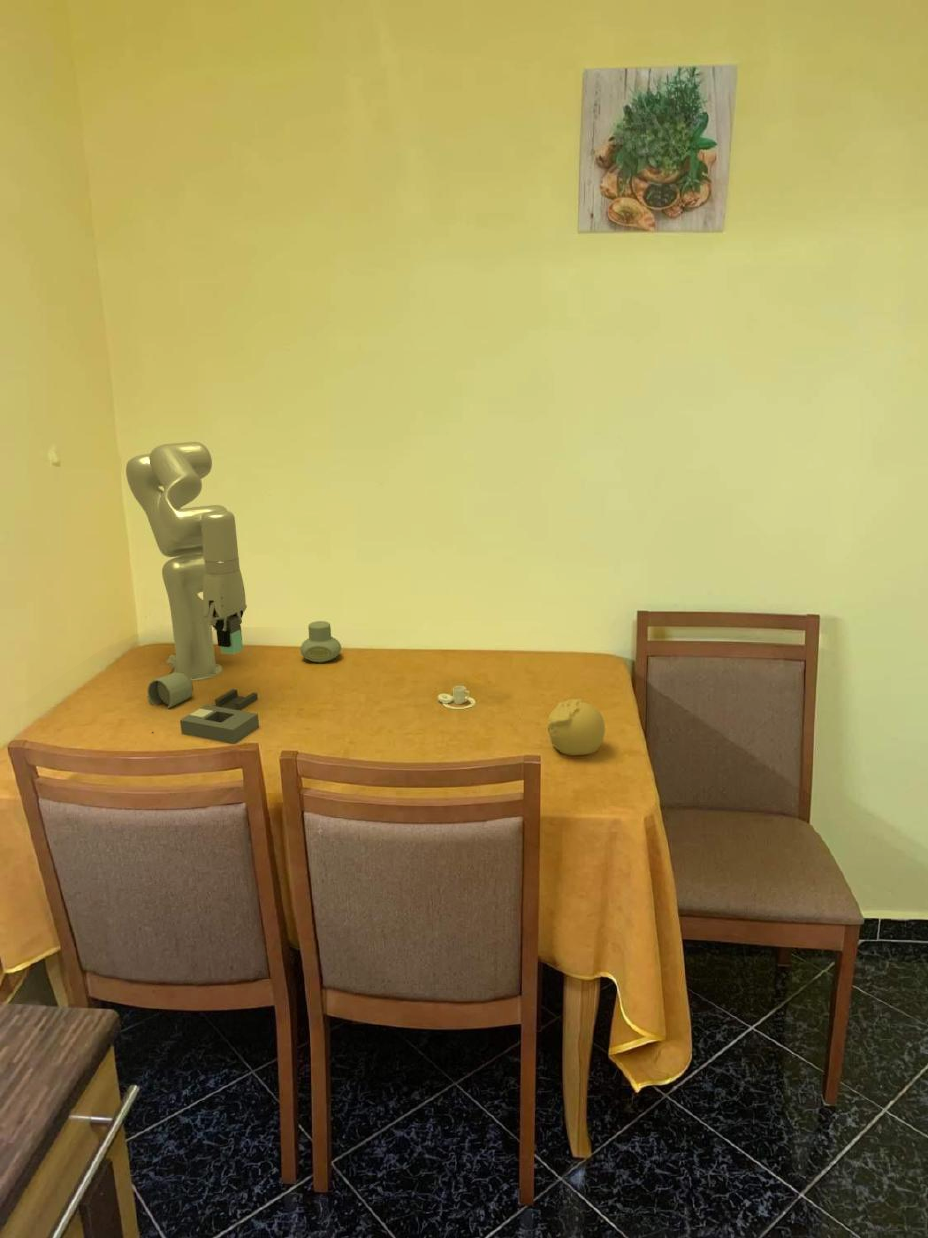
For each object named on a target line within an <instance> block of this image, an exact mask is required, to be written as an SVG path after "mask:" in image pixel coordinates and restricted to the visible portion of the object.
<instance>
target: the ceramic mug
mask: <svg viewBox="0 0 928 1238" xmlns="http://www.w3.org/2000/svg"><path fill="white" fill-rule="evenodd" d="M193 692H194V686H193V681H191V680H190V678H189V677H188V676H187V675H186V674H184V673H180V672H178V673H172V672H171V673H169V674H167V675H164V676H160V677H158V678H155V679H153V680H151V681H150V682H149V684H148V687H147V696H146V697H147V700H148V703H151V705H152V706H157V705H159V704H160V703H164V704H166V705H168V706H167V707H166V708H165V709H171V708H172V707H175V706H177V705H178V704H180V703H183V702H184V701H187V700H188V699H190V697H192V695H193Z"/></svg>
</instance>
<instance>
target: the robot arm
mask: <svg viewBox="0 0 928 1238" xmlns="http://www.w3.org/2000/svg"><path fill="white" fill-rule="evenodd" d="M212 460H213V459H212V455H211V453H210V451H209V449H208V447H206V446H205V445H204V443H201V442H197V441H188V442H175V443H174V442H172V443H171V442H170V443H165V444H160V445H157V446H156V447H154V448H153V449H152V450H151V452H150V453H143V454H140V455H137V456H134V457H132V458H130V459H129V460H128V461H127V463H126V466H125V475H126V480H127V483H128V486H129V489H130V491H131V493H132V495H133V497H134V498H135V500H136V501H137V503H138V504H139V505H140V507H141V508H142V509H143V511H144V512H145V513H144V514H145V515H146V518H147V520H148V523H149V526H150V527H151V528H150V529H151V531H152V534H153V537H154V539H155V542H156V545H157V547H158V549H159V551H160V553H161V554H162V556H164V557H167V558H171V559H169V560H167V561H166V562H165V563H164V564H163V565H162V566H163V567H161V568H162V569H161V575H162V580H163V584H164V587H165V590H166V593H167V599H168V602H169V610H170V616H171V623H172V624H171V625H172V632H173V633H172V634H173V643H174V649H175V651H174V652H175V655H174V654H170V655H169V657H168V659H167V661H166V665H167V666H173V668H174V670H173V671H172V672H171V674H172V673H178V672H180V673H184V674H186V675H187V676H188V677H189V678H190V680H191V682H199V681H205V680H209V679H212V678H214V677H216V676H218V675H220V674H221V673H222V672H223V667H222V665H221V664H218V663H216V656H215V645H214V636H213V629H214V631H215V632H216V639H217V646H218V647H221V646H222V647H230V646H231V642H230V632H229V630H227V617H229V616H235V617H239V621H240V629H241V630H242V628H241V627H242V623H243V619H242V618H243V616H244V613H245V611H246V609H247V606H248V605H247V604H246V603H247V602H246V591H245V584H244V579H243V576H242V572H241V568H240V557H239V548H238V539H237V538H238V537H237V527H236V517H235V515H234V513H233V512H231V511H230V510H229V511H228V509H227V508H226V507H224V506H223V505H220V504H211V505H203V506H194V507H193V506H192V507H185V508H182V507H184V506H186V505H188V504H190V503H191V502H193V501H195V499H197V498H198V496H199V495H200V493H201V491H202V490H203V488H202V487H203V484H202V479H204V478H205V477H206V476H208V475H209V474H210V472H211V470H212V468H213V467H212V466H213V461H212ZM160 487H162V488H163V490H162V489H160ZM199 593H202V598H201V597H200V596H199V595H198V594H199ZM219 620H222V623H221V622H219ZM212 627H213V628H212ZM241 637H242V633H241ZM242 638H243V637H242Z"/></svg>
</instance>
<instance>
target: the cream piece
mask: <svg viewBox="0 0 928 1238" xmlns="http://www.w3.org/2000/svg"><path fill="white" fill-rule="evenodd" d="M466 689H467V687H465V686H463V685H454V686H453V687H452V695H451V694H448V693H440V694H439V695H437V700H438V701H439V702H440V703H441V704H442V706H444V707H446V708H448V709H452V710H465V709H470V708H472V707H473V706H475V705H476V702H477V701H476V700H475V699H474V698H472V697H470V696H471V693H470V691H469V690H466ZM466 693H468V696H466ZM467 700H468V701H469V702H470V704H468V705H466V706H461V707H460V706H459V707H456V706H451V705H449V704H451V703H452V702H453V701H454V704H455V705H463V704H464V703H466V701H467Z"/></svg>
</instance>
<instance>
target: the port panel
mask: <svg viewBox="0 0 928 1238" xmlns="http://www.w3.org/2000/svg"><path fill="white" fill-rule="evenodd" d="M179 724H180V730H181V734H182V735H186V736H192V737H197V738H203V739H208V740H213V741H217V742H222V743H224V742H225V743H229V744H234V745H235V744H237V743H238V742H239V741H241V740H242V739H244V738H245V737H247V736H248V735H250V734H251V733H253V732H254V731H256V730H257V729H259V728H260V723H259V714H258V713H255V712H250V711H244V710H234V709H228V708H223V707H217V706H215V705H210V704H205V705H203V706H202V707H200V708H198V709H197V710H195V711H193V712H191V713H190V714H188V715H186V716H185V717H183V718H181V719H179Z"/></svg>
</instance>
